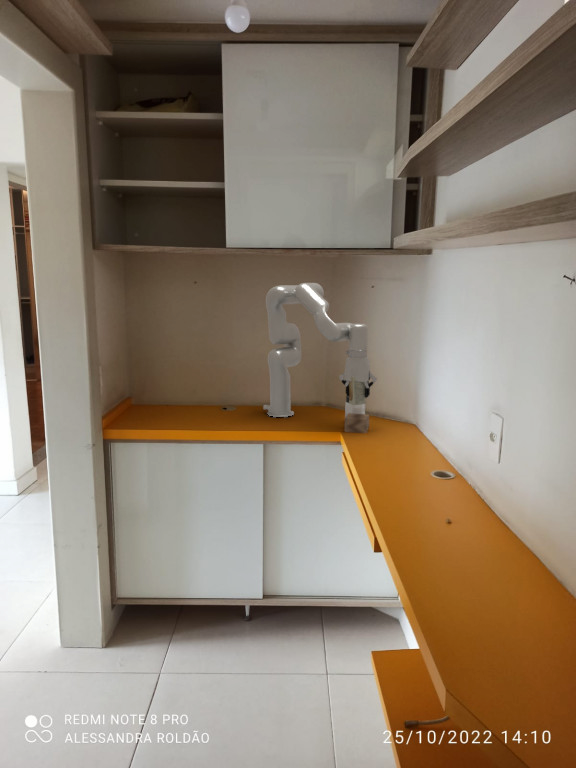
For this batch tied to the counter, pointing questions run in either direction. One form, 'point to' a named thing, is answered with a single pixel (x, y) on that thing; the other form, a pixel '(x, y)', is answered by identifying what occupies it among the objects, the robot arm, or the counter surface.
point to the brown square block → (357, 423)
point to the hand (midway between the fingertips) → (357, 396)
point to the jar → (353, 408)
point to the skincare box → (356, 392)
